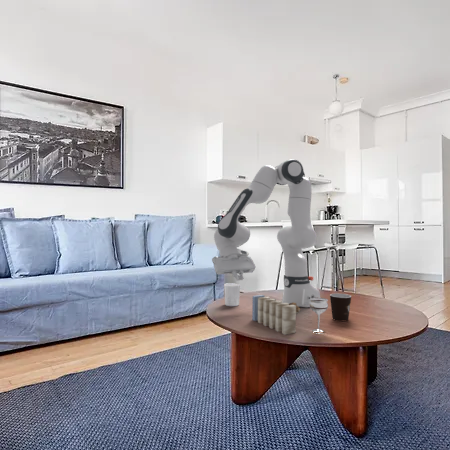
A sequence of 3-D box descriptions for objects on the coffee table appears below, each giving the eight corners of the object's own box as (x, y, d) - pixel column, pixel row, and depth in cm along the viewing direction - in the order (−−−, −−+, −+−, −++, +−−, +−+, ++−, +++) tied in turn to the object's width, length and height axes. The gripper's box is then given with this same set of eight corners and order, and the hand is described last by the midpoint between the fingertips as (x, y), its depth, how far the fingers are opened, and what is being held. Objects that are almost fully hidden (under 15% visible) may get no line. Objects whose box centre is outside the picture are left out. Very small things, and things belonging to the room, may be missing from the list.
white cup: (238, 307, 167) (238, 286, 167) (222, 306, 168) (222, 285, 168) (241, 303, 175) (241, 283, 175) (225, 302, 176) (225, 282, 176)
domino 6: (292, 331, 130) (292, 304, 130) (295, 332, 128) (295, 305, 128) (281, 333, 127) (282, 306, 127) (284, 334, 126) (284, 307, 126)
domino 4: (279, 325, 137) (279, 300, 137) (282, 326, 135) (282, 301, 135) (269, 327, 134) (269, 301, 134) (271, 328, 133) (271, 302, 133)
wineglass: (324, 328, 134) (324, 297, 134) (330, 334, 127) (330, 301, 127) (307, 328, 133) (307, 297, 133) (312, 334, 127) (312, 301, 127)
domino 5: (286, 328, 133) (286, 302, 133) (288, 329, 132) (288, 303, 132) (275, 330, 131) (275, 303, 131) (277, 331, 129) (278, 304, 129)
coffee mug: (340, 323, 141) (340, 298, 141) (325, 317, 149) (325, 294, 149) (360, 319, 147) (360, 295, 147) (345, 314, 154) (345, 292, 154)
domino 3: (273, 323, 140) (273, 298, 140) (275, 324, 139) (276, 299, 139) (263, 324, 138) (263, 299, 138) (265, 325, 136) (265, 300, 136)
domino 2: (267, 320, 144) (268, 296, 144) (270, 321, 142) (270, 297, 142) (257, 322, 141) (257, 297, 141) (259, 323, 140) (260, 298, 140)
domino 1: (262, 318, 147) (262, 294, 147) (264, 319, 146) (264, 295, 146) (252, 319, 145) (252, 295, 145) (254, 320, 144) (254, 296, 143)
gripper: (213, 252, 160) (222, 276, 151) (250, 251, 170) (261, 274, 161) (208, 261, 164) (217, 285, 155) (245, 259, 174) (256, 282, 165)
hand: (240, 279), depth 158 cm, fingers closed
